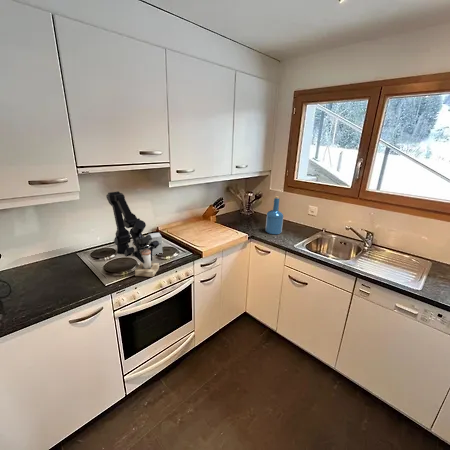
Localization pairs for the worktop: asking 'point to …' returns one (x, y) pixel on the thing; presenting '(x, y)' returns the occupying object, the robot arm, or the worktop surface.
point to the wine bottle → (274, 219)
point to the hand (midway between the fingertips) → (147, 261)
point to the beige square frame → (147, 270)
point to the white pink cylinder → (146, 259)
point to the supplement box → (159, 238)
